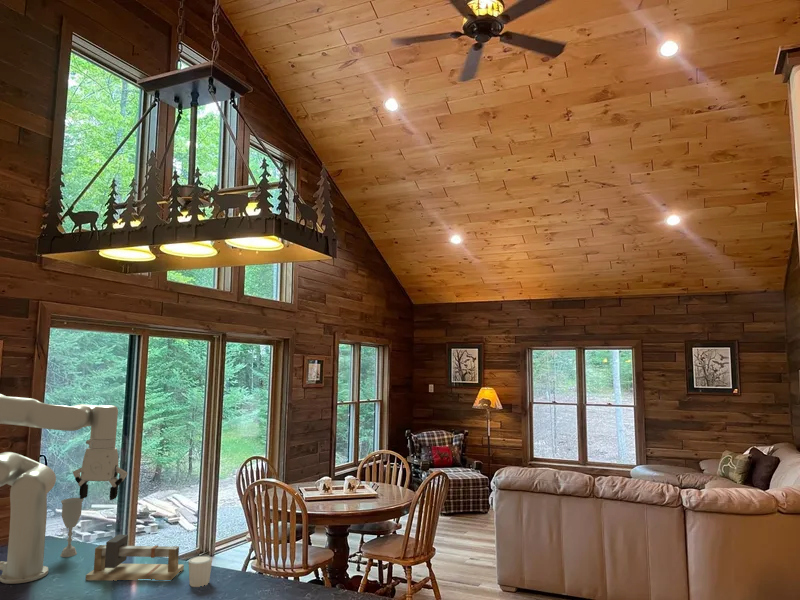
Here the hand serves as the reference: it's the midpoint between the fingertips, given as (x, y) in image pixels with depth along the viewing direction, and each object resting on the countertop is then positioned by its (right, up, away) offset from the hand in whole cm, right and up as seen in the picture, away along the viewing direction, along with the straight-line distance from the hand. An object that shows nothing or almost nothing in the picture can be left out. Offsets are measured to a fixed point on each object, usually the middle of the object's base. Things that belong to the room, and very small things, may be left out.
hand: (98, 498), depth 184 cm
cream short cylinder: (+37, -22, -12) cm, 44 cm away
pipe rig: (+15, -22, -5) cm, 27 cm away
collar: (+8, -19, -5) cm, 21 cm away
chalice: (-16, -23, +12) cm, 31 cm away
